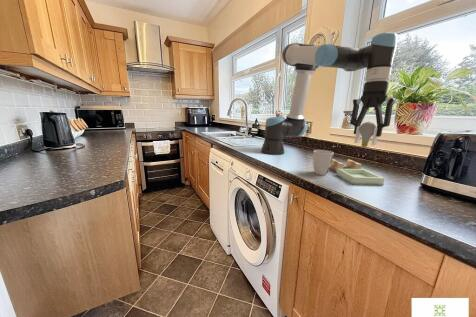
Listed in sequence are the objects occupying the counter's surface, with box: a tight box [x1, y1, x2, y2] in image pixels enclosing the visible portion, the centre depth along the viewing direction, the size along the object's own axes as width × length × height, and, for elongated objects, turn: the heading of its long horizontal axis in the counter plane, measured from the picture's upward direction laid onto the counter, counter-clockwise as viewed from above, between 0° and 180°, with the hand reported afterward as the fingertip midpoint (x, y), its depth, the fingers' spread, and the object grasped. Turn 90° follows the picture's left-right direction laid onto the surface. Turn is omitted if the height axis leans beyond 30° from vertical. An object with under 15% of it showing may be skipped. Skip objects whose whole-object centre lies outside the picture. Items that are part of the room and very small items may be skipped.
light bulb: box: [359, 121, 377, 148], centre depth 76 cm, size 5×6×10 cm
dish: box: [336, 168, 386, 186], centre depth 80 cm, size 12×12×3 cm
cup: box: [312, 149, 335, 176], centre depth 86 cm, size 8×8×10 cm
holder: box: [330, 158, 362, 173], centre depth 92 cm, size 9×9×4 cm
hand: (365, 143), depth 77 cm, fingers closed on light bulb, 5 cm apart
